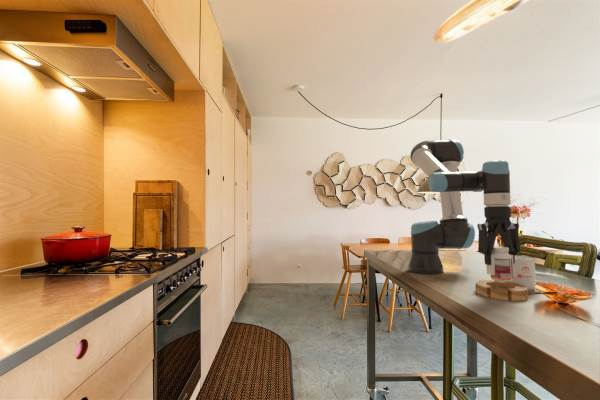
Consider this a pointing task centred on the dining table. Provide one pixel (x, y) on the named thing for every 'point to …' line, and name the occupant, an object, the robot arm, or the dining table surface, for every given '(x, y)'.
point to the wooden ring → (501, 290)
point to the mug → (524, 272)
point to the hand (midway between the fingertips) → (500, 273)
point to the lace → (534, 292)
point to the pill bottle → (502, 265)
